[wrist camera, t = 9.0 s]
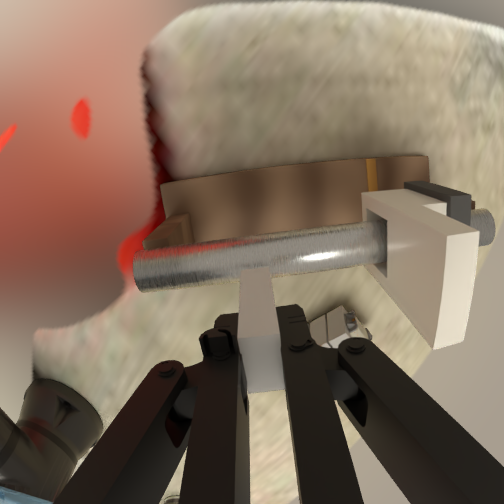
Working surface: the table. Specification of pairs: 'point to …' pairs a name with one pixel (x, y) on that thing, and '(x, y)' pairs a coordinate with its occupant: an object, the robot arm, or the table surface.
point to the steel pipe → (274, 254)
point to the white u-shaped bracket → (425, 262)
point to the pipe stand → (277, 198)
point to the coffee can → (172, 500)
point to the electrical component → (337, 328)
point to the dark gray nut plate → (446, 199)
